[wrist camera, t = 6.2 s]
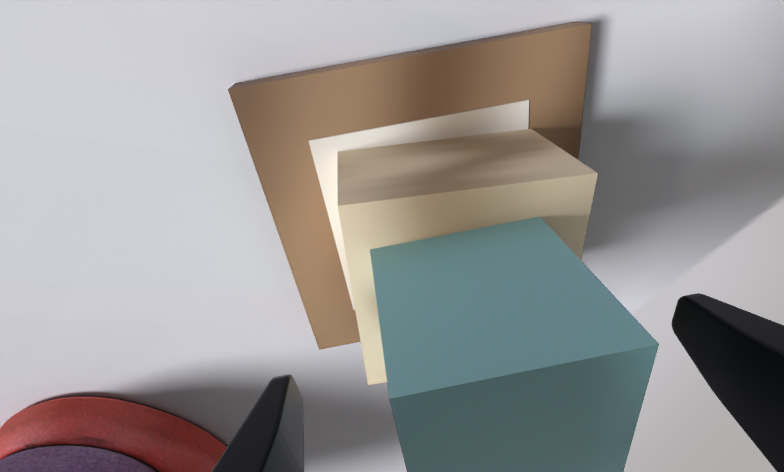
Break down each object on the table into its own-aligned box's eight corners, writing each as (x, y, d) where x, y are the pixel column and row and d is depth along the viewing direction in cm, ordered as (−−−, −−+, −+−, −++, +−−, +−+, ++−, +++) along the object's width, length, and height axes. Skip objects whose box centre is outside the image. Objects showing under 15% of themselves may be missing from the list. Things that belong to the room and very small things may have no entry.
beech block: (531, 128, 13) (598, 173, 10) (515, 282, 17) (561, 355, 13) (337, 151, 13) (337, 205, 10) (361, 304, 16) (367, 384, 13)
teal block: (539, 216, 10) (658, 343, 7) (534, 338, 13) (619, 486, 9) (369, 249, 10) (389, 398, 6) (395, 366, 13) (420, 527, 9)
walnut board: (574, 22, 13) (592, 23, 12) (553, 287, 19) (564, 302, 18) (235, 83, 13) (227, 89, 12) (320, 333, 18) (319, 350, 17)
